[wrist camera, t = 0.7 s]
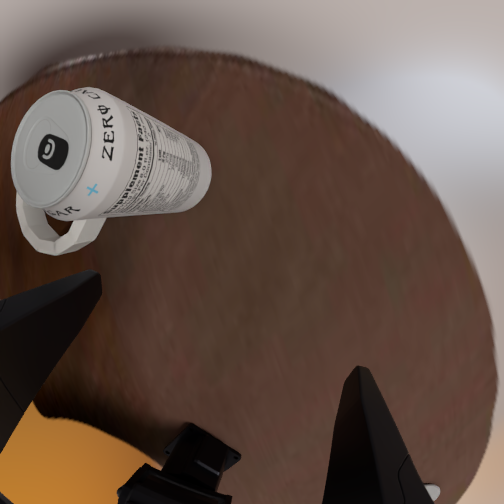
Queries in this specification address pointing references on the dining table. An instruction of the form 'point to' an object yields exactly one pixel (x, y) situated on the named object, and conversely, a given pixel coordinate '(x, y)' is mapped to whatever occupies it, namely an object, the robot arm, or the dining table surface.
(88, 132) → the energy drink can
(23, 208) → the socket collar
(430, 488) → the bracket
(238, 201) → the dining table surface
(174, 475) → the robot arm
